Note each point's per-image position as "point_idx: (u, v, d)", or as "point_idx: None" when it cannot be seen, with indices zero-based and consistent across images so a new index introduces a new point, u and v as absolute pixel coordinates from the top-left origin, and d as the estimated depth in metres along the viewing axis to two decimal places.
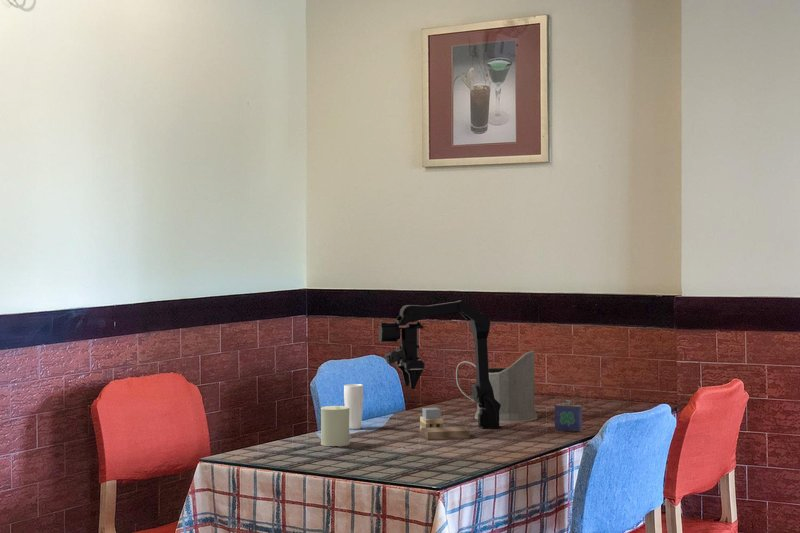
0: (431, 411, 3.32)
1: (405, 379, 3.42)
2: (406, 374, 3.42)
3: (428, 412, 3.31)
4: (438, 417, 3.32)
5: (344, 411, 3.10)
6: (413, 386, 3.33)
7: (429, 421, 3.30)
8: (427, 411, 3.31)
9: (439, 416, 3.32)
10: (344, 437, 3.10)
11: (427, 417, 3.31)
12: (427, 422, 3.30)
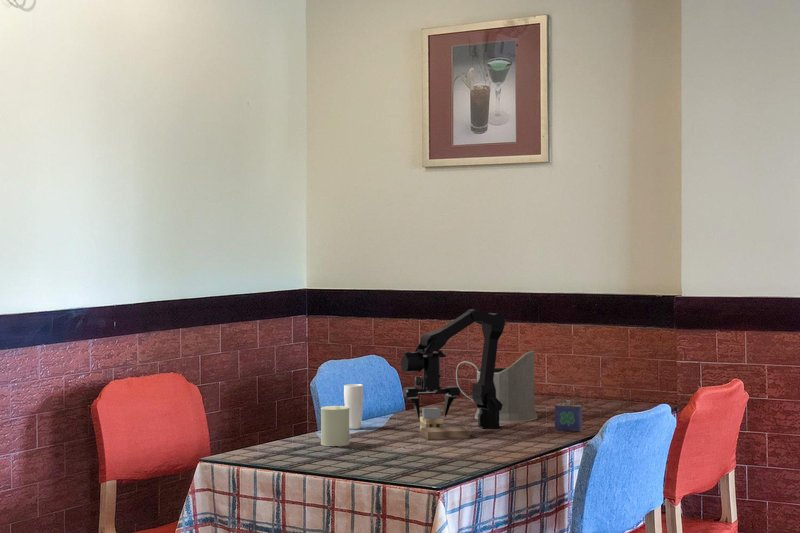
0: (431, 411, 3.32)
1: (444, 409, 3.36)
2: (445, 404, 3.35)
3: (428, 412, 3.31)
4: (438, 417, 3.32)
5: (344, 411, 3.10)
6: (417, 414, 3.33)
7: (429, 421, 3.30)
8: (427, 411, 3.31)
9: (439, 416, 3.32)
10: (344, 437, 3.10)
11: (427, 417, 3.31)
12: (427, 422, 3.30)
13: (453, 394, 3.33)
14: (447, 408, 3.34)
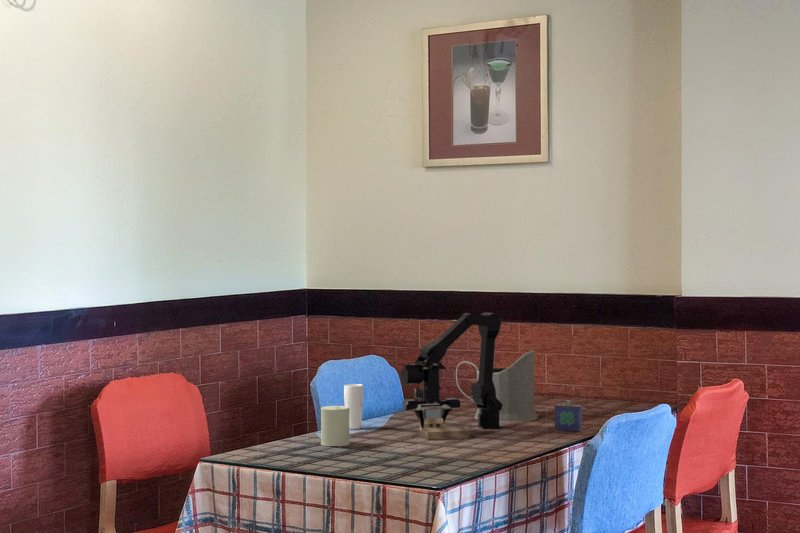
0: (431, 411, 3.32)
1: None
2: (441, 416, 3.35)
3: (428, 412, 3.31)
4: (438, 417, 3.32)
5: (344, 411, 3.10)
6: (421, 426, 3.33)
7: (429, 421, 3.30)
8: (427, 411, 3.31)
9: (439, 416, 3.32)
10: (344, 437, 3.10)
11: (427, 417, 3.31)
12: (427, 422, 3.30)
13: (453, 406, 3.33)
14: (443, 420, 3.33)
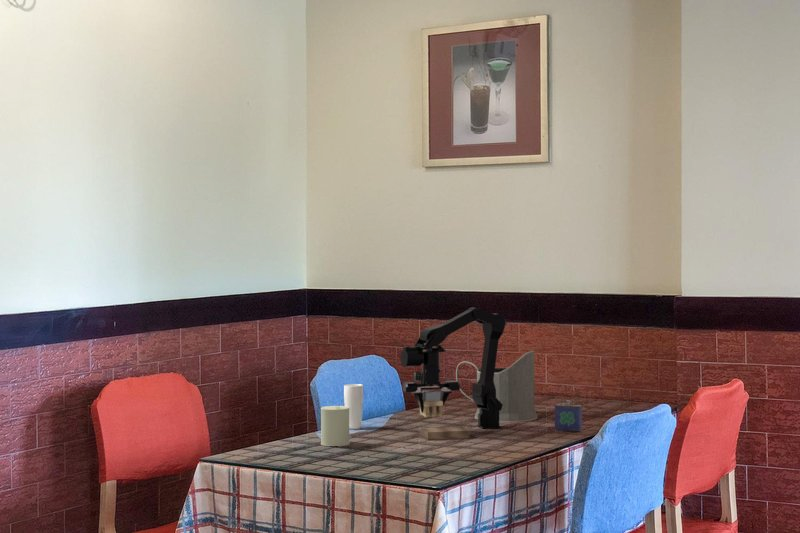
0: (431, 393, 3.32)
1: None
2: (440, 399, 3.35)
3: (428, 394, 3.31)
4: (438, 399, 3.32)
5: (344, 411, 3.10)
6: (420, 409, 3.33)
7: (429, 403, 3.30)
8: (427, 393, 3.31)
9: (439, 398, 3.32)
10: (344, 437, 3.10)
11: (427, 399, 3.31)
12: (427, 404, 3.30)
13: (453, 389, 3.33)
14: None
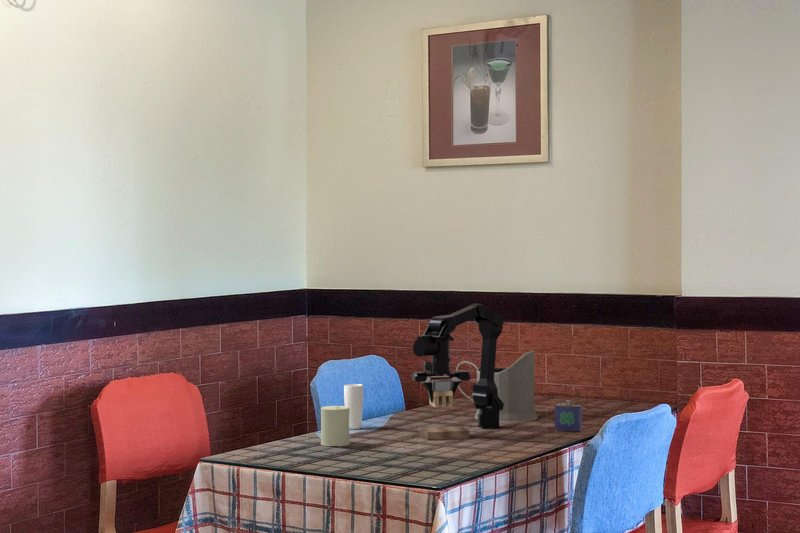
0: (440, 383, 3.25)
1: None
2: (450, 389, 3.28)
3: (437, 384, 3.25)
4: (448, 389, 3.25)
5: (344, 411, 3.10)
6: (430, 399, 3.27)
7: (438, 393, 3.23)
8: (436, 383, 3.25)
9: (449, 388, 3.25)
10: (344, 437, 3.10)
11: (436, 389, 3.25)
12: (436, 394, 3.23)
13: (463, 379, 3.26)
14: None
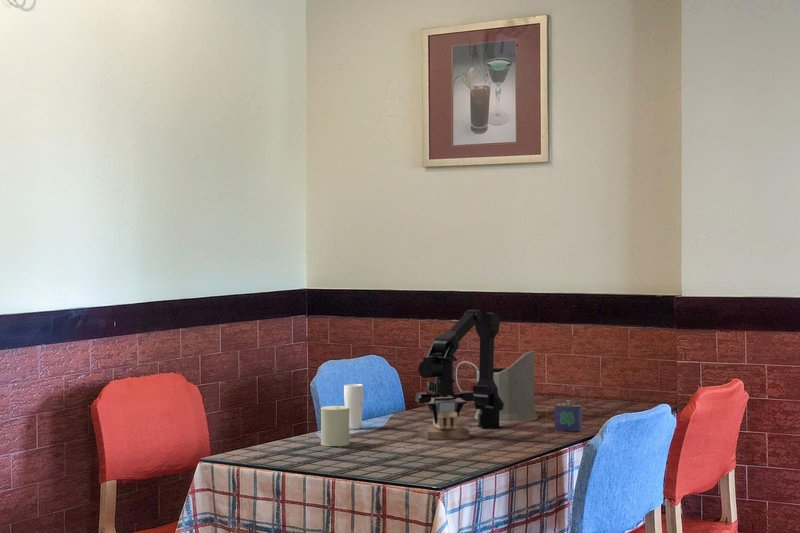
0: (445, 404, 3.22)
1: None
2: (454, 410, 3.26)
3: (442, 405, 3.22)
4: (452, 410, 3.23)
5: (344, 411, 3.10)
6: (434, 420, 3.24)
7: (443, 415, 3.21)
8: (441, 404, 3.22)
9: (453, 409, 3.23)
10: (344, 437, 3.10)
11: (441, 410, 3.22)
12: (441, 416, 3.21)
13: (467, 399, 3.23)
14: (457, 414, 3.24)
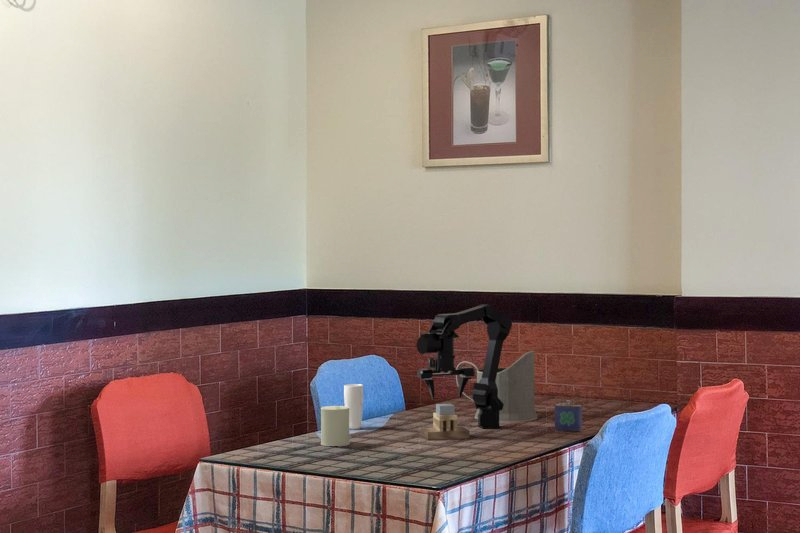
0: (445, 407, 3.22)
1: (458, 390, 3.33)
2: (459, 385, 3.33)
3: (442, 408, 3.22)
4: (452, 413, 3.23)
5: (344, 411, 3.10)
6: (431, 396, 3.31)
7: (443, 417, 3.21)
8: (441, 407, 3.22)
9: (453, 412, 3.23)
10: (344, 437, 3.10)
11: (441, 413, 3.22)
12: (441, 418, 3.21)
13: (468, 375, 3.30)
14: (462, 389, 3.32)
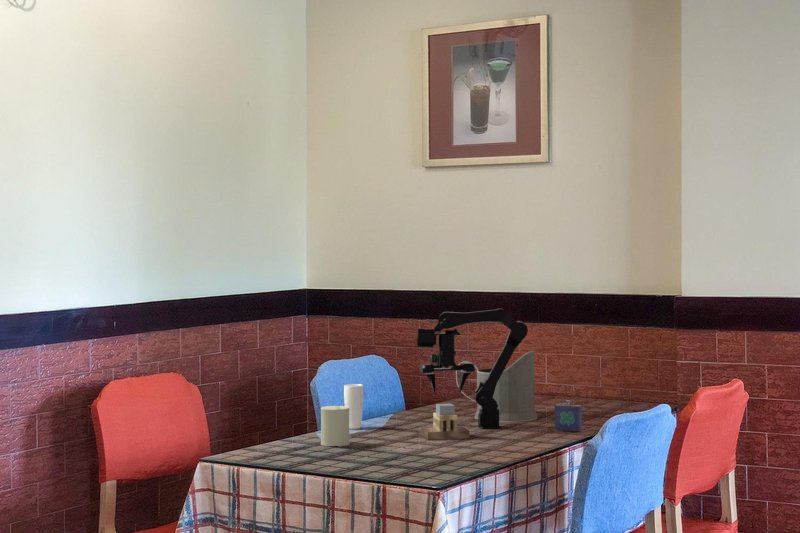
0: (445, 407, 3.22)
1: (459, 385, 3.46)
2: (460, 380, 3.46)
3: (442, 408, 3.22)
4: (452, 413, 3.23)
5: (344, 411, 3.10)
6: (433, 390, 3.44)
7: (443, 417, 3.21)
8: (441, 407, 3.22)
9: (453, 412, 3.23)
10: (344, 437, 3.10)
11: (441, 413, 3.22)
12: (441, 418, 3.21)
13: (468, 370, 3.43)
14: (462, 384, 3.44)
